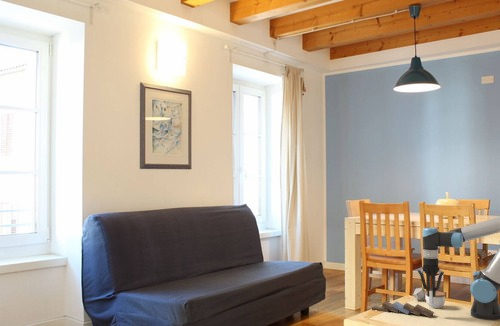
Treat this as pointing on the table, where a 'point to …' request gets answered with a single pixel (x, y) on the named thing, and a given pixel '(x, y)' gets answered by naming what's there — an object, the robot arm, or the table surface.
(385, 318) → the table surface
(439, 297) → the lidded jar
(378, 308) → the domino
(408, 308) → the domino
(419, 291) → the game die
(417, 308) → the domino
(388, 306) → the domino
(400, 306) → the domino
